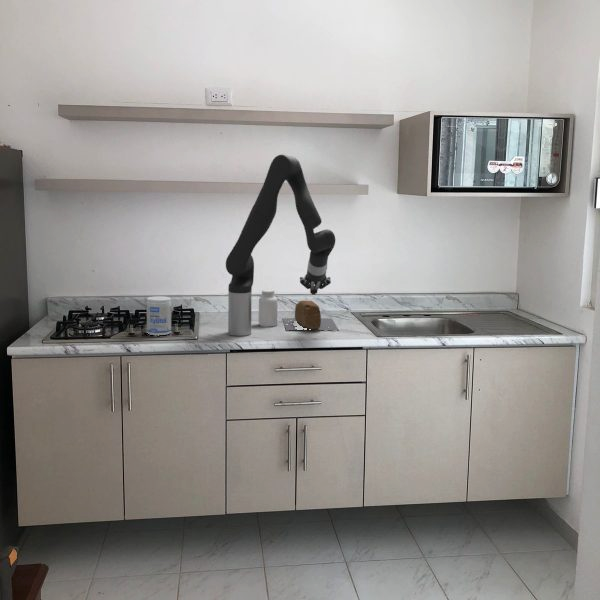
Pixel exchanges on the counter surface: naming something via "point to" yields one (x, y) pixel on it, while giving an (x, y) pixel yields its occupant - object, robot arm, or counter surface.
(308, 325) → the brown rounded chunk
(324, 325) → the mat
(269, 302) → the pill bottle
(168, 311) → the supplement tub
